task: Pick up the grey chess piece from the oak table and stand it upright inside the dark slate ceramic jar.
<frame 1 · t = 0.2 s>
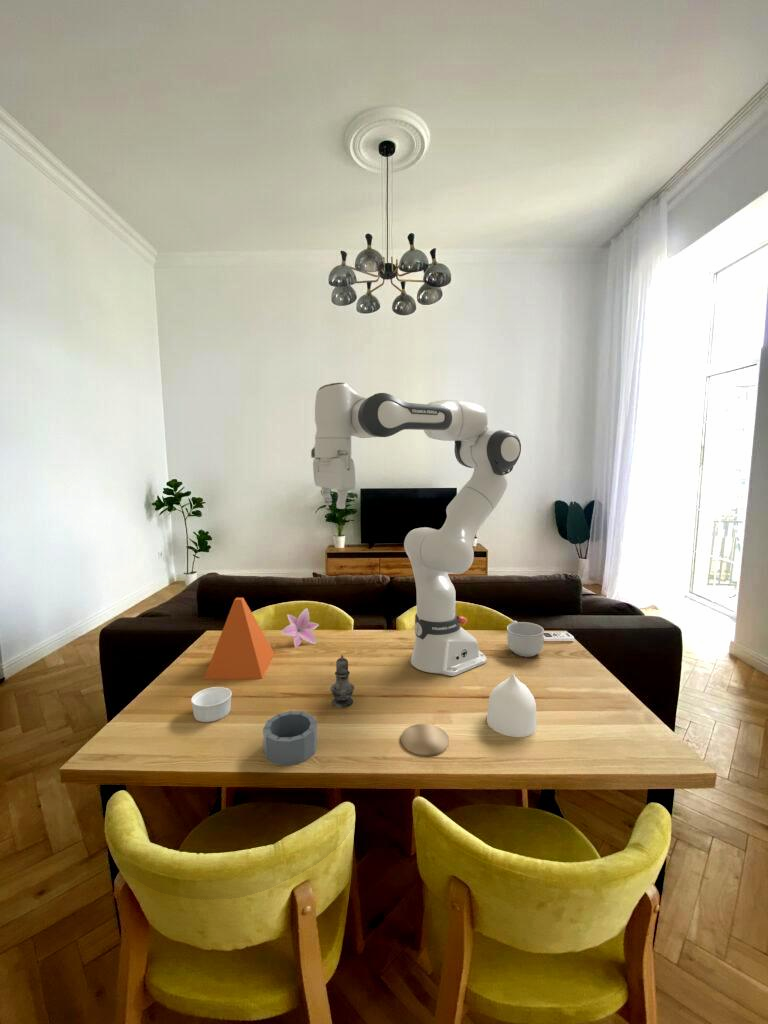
hand: (334, 506, 112), 47 cm above the table, fingers open, 8 cm apart
teardrop: (511, 723, 101), on the table
lily: (300, 642, 146), on the table
teacup: (522, 651, 140), on the table
grey chess piece: (342, 702, 110), on the table
pyramid: (241, 666, 129), on the table
jar: (290, 748, 92), on the table
ramekin: (212, 714, 105), on the table
cork coaster: (424, 740, 95), on the table
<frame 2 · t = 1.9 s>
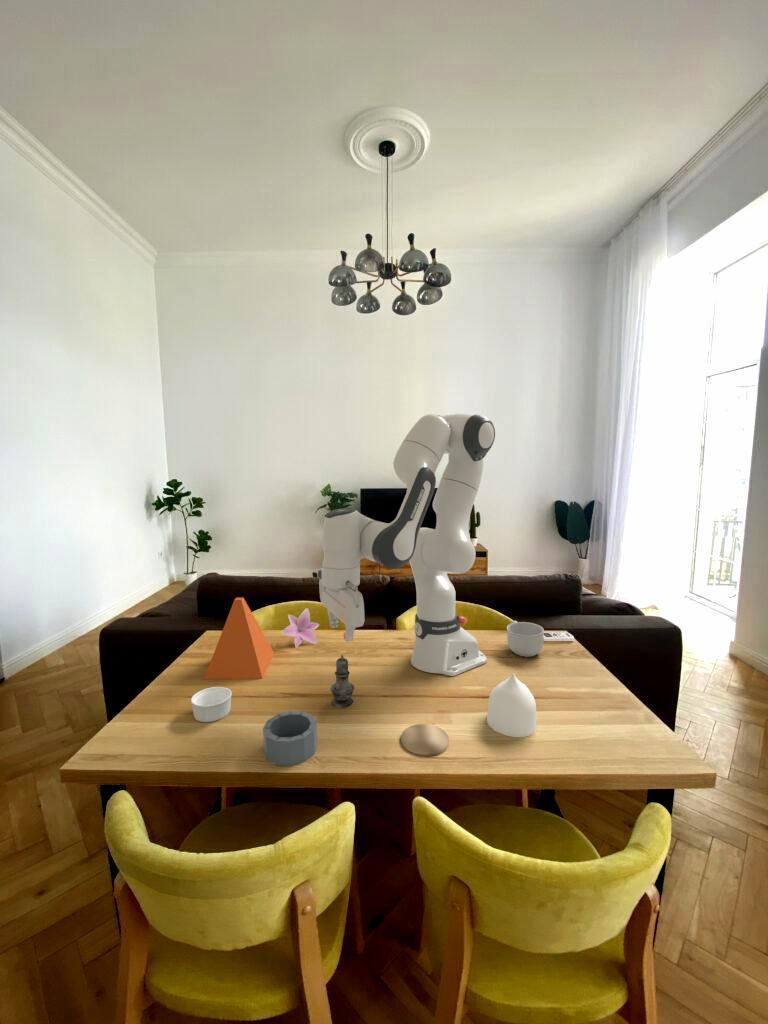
hand: (340, 633, 108), 17 cm above the table, fingers open, 8 cm apart
nothing on the table moved.
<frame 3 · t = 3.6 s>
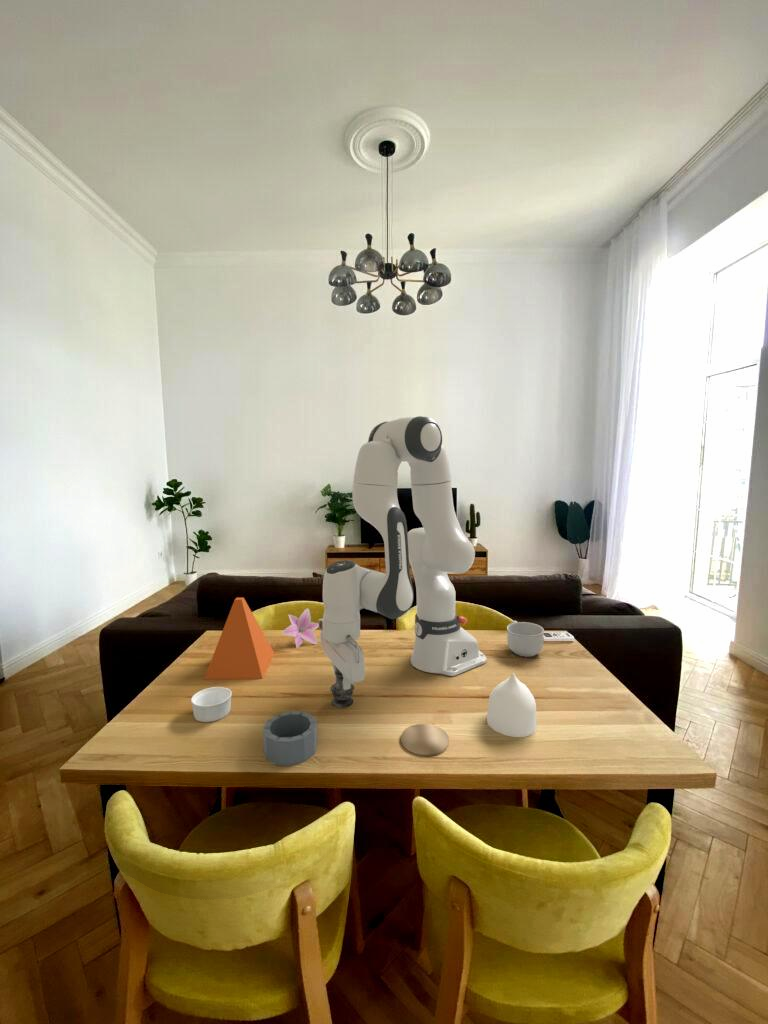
hand: (342, 683, 109), 5 cm above the table, fingers closed on grey chess piece, 3 cm apart
grey chess piece: (342, 702, 110), on the table, touching gripper
everything else where it was.
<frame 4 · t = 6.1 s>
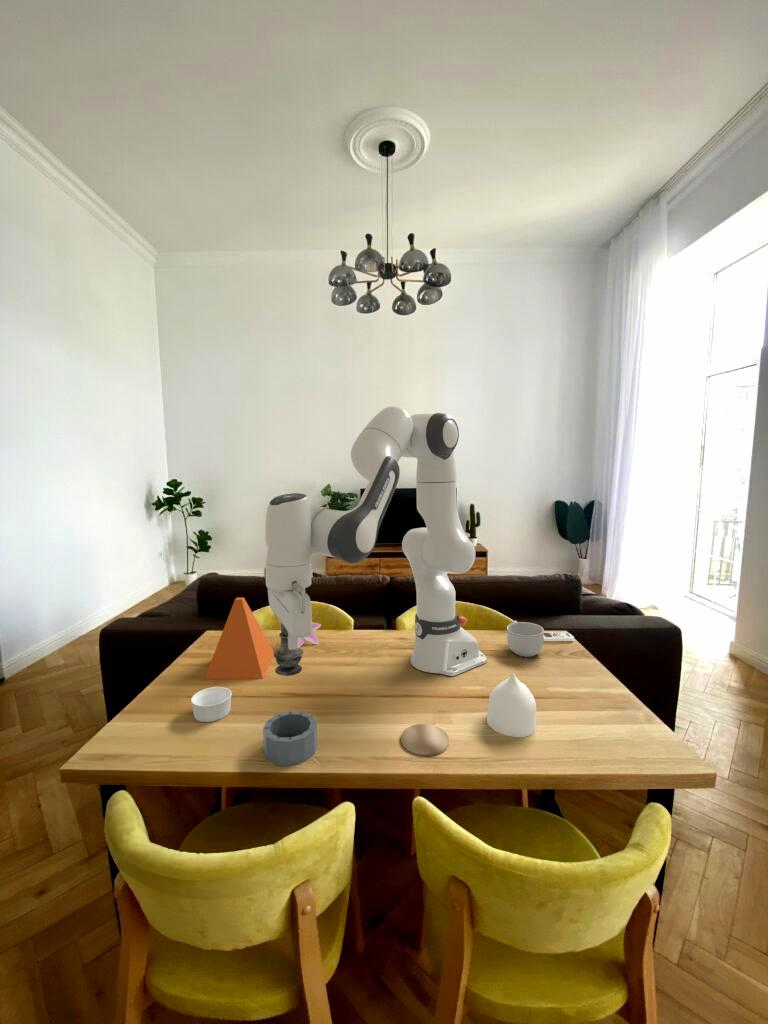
hand: (289, 643, 90), 22 cm above the table, fingers closed on grey chess piece, 3 cm apart
grey chess piece: (288, 670, 91), point 16 cm above the table, touching gripper
when the fingers open (6 cm above the table, at t = 8.7 s): grey chess piece stays where it is, resting on jar.
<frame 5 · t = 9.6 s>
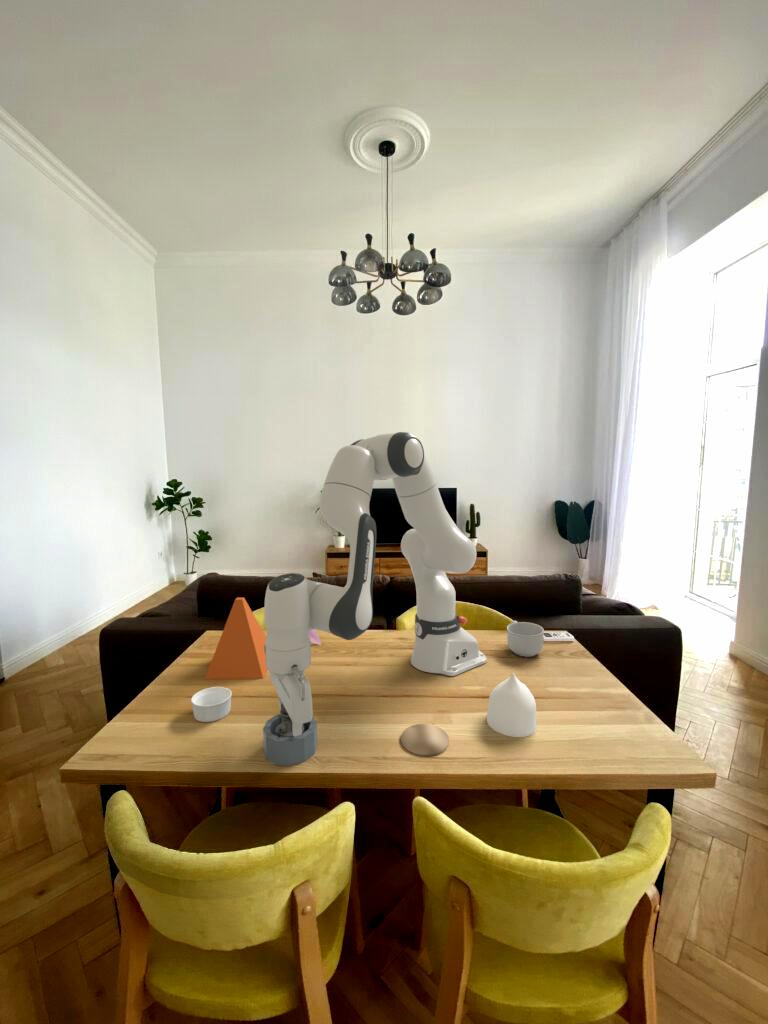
hand: (290, 721, 91), 6 cm above the table, fingers open, 8 cm apart
grey chess piece: (290, 746, 92), resting on jar
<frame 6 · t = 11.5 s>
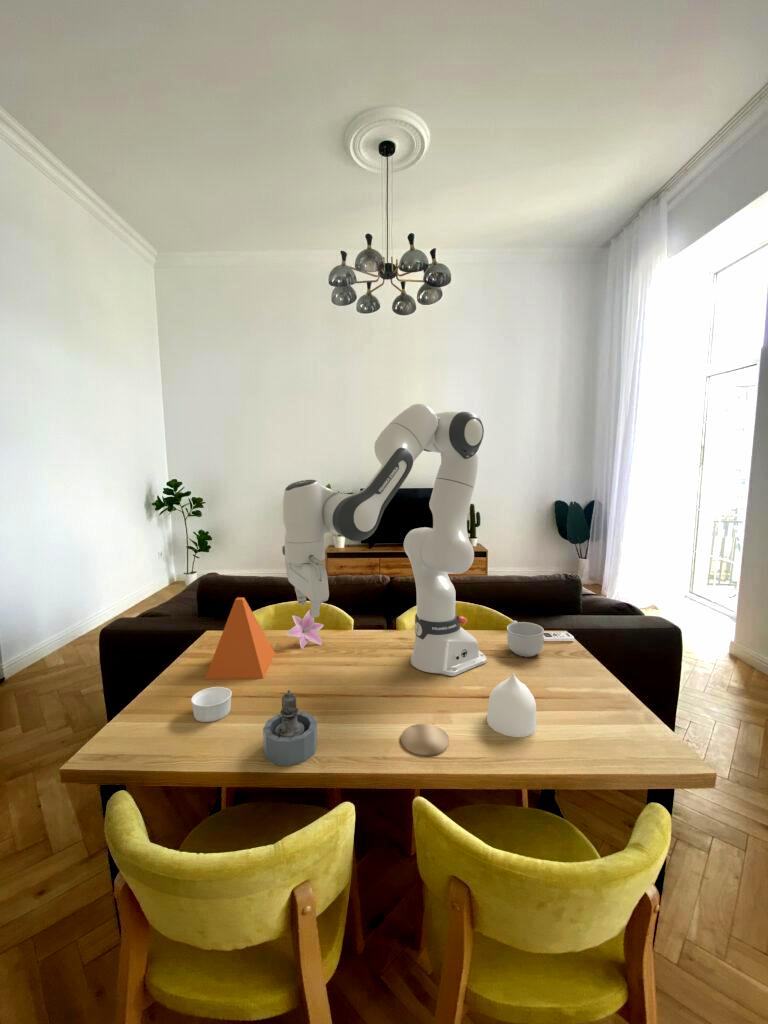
hand: (308, 610, 104), 24 cm above the table, fingers open, 8 cm apart
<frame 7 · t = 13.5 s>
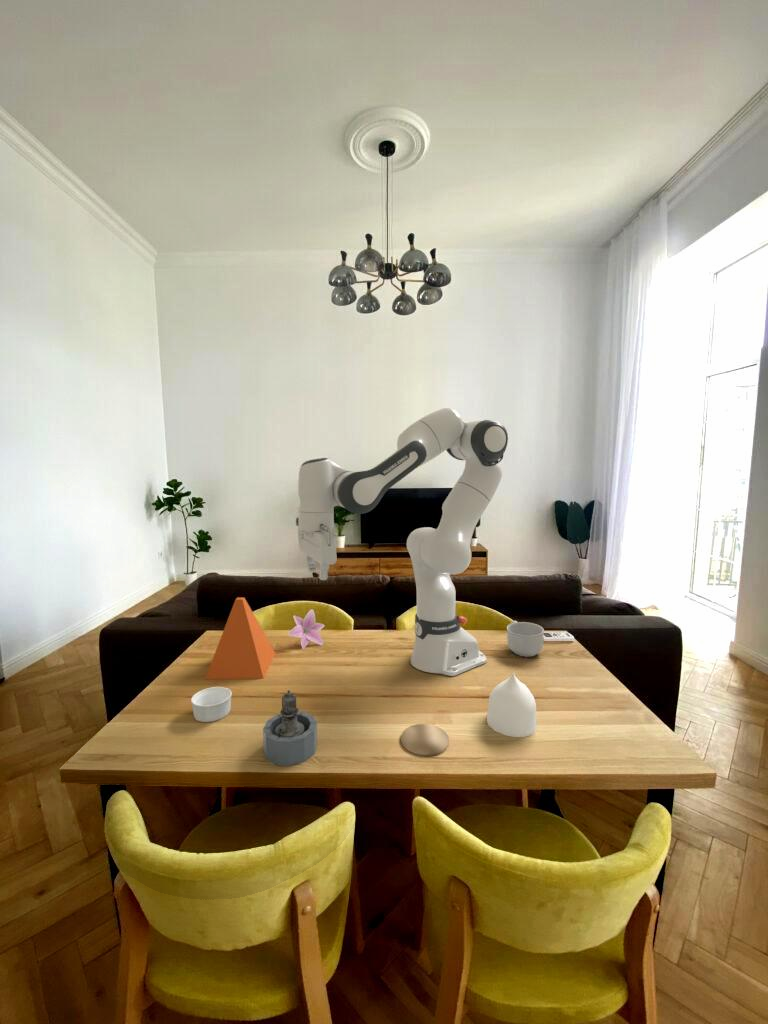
hand: (317, 575, 116), 29 cm above the table, fingers open, 8 cm apart
at the end: grey chess piece 0.1 cm off-centre on the jar, point 0.4 cm above the jar's base; grey chess piece tilted 0°; the gripper is holding nothing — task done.
